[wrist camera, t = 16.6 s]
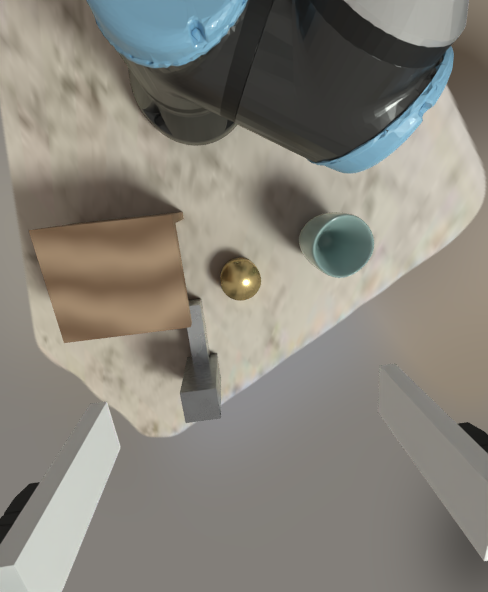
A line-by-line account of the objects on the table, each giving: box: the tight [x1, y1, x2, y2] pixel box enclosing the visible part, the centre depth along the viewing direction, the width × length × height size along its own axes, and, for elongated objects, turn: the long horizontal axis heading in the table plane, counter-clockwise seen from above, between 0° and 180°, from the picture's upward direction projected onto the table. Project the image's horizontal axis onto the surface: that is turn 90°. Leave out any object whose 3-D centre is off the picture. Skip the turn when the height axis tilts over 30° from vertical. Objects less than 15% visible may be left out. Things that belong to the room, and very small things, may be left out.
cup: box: [299, 212, 374, 278], centre depth 42 cm, size 8×8×10 cm
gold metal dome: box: [221, 258, 261, 300], centre depth 46 cm, size 6×6×3 cm
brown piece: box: [29, 212, 192, 343], centre depth 41 cm, size 14×16×10 cm
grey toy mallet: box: [180, 299, 221, 423], centre depth 45 cm, size 15×5×10 cm, turn 6°
